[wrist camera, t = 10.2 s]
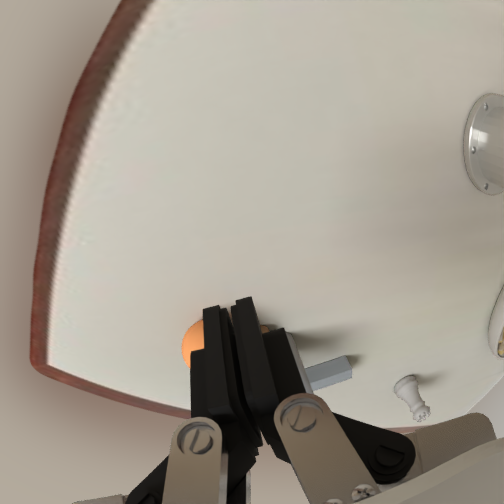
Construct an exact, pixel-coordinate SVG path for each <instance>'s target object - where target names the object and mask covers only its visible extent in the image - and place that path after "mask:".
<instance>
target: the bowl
mask: <svg viewBox="0 0 504 504" xmlns="http://www.w3.org/2000/svg"><path fill="white" fill-rule="evenodd" d="M488 341H489V346H490V349H491V351H492V353H493V355H494V356H495V357H496V358H497V359H498V360H504V286H503V288H502V290H501V293H500V295H499V297H498V299H497V302H496V304H495V307H494V310H493V313H492V316H491V320H490V324H489V330H488Z"/></svg>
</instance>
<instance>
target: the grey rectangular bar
mask: <svg viewBox="0 0 504 504" xmlns="http://www.w3.org/2000/svg"><path fill="white" fill-rule="evenodd" d="M305 371H306V374H307V377H308V379H309V382H310V385H311V387H312V390H313V391H315V390H318V389H321V388H324V387H327V386H330V385H333V384H336V383H339V382H342V381H345V380H347V379H350V378H352V368H351V366H350V364H349V362H348V360H347V358H346V356H342V357H339V358H337V359H334V360H331V361H328V362H325V363H322V364H319V365H315V366H312V367H309V368H306V369H305Z"/></svg>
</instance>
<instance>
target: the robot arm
mask: <svg viewBox="0 0 504 504" xmlns="http://www.w3.org/2000/svg"><path fill="white" fill-rule="evenodd" d="M464 157H465V164H466V168H467V172H468V174H469V177H470V179H471V181H472V182H473V184H474V185H475V186H476V187H477V188H478V189H479V190H480V191H482V192H484V193H486V194H489V195H497V194H500V193H501V192H503V191H504V96H503V95H498V94H487V95H484V96H483V97H481V98H480V99H479V100H478V101H477V102H476V103H475V105H474V106H473V108H472V110H471V112H470V115H469V117H468V120H467V124H466V129H465V136H464ZM231 313H232V320H233V325H232V322H231V319H230V317H229V314H228V311H227V309H226V308H222V309H221V308H220V306H219V305H217V306H213V307H209V308H205V309H203V333H204V348H203V349H199V350H195V351H191V354H190V386H191V419H188V420H186V421H184V422H183V423H182V424H180V425H179V426H178V427H177V429H176V430H175V432H174V434H173V437H172V440H171V447H170V453H169V455H168V456H167V457H166V458H165V459H164V461H162V462H161V463H160V464H159V466H157V467H156V468H155V469H154V470H153V471H152V472H151V473H150V474H149V475H148V476H147V477H146V478H145V479H144V480H143V481H142V482H141V483H140V484H139V485H138V486H137V487H136V488H135V489H134V490H132V492H131V493H130V494H129V495H125V496H124V495H122V494H119V495H114V496H109V497H104V498H97V499H91V500H85V501H77V502H75V503H72V504H251V502H250V501H251V489H250V488H251V485H250V484H251V474H250V469H251V467H252V466H253V465H254V464H255V462H256V458H255V456H257V455H259V452H258V447H261V446H263V442H262V437H261V432H262V434H263V436H264V438H265V440H266V442H267V444H268V445H269V444H270V445H271V447H272V449H273V451H274V453H275V455H276V457H277V458H279V459H281V460H283V461H285V462H287V463H290V464H291V465H292V467H293V470H294V472H295V474H296V476H297V478H298V480H299V482H300V484H301V486H302V489H303V491H304V493H305V495H306V497H307V499H308V501H309V503H310V504H504V438H499V439H496V436H495V433H494V429H493V426H492V423H491V422H490V420H489V418H488V417H486V416H485V415H484V414H481V413H470V414H467V415H464V416H461V417H458V418H455V419H452V420H449V421H445V422H442V423H439V424H435V425H432V426H428V427H424V428H420V429H417V430H415V432H413V433H409V434H405V435H402V434H400V433H396V432H393V431H389V430H386V429H382V428H379V427H376V426H372V425H369V424H366V423H363V422H360V421H357V420H354V419H351V418H348V417H345V416H342V415H339V414H336V413H333V412H331V410H330V408H329V407H328V405H327V404H326V402H325V401H324V400H323V399H322V398H320V397H318V396H317V395H314V394H310V393H306V390H305V387H304V384H303V381H302V378H301V375H300V373H299V370H298V367H297V364H296V361H295V358H294V355H293V352H292V349H291V346H290V344H289V341H288V338H287V335H286V332H285V329H284V328H280V329H277V330H273V331H270V332H266V333H262V331H261V327H260V324H259V321H258V317H257V314H256V310H255V307H254V304H253V300H252V297H251V296H250V297H247V298H243V299H239V300H236V305H234V306H231ZM233 326H234V327H233ZM260 430H261V432H260Z"/></svg>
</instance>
